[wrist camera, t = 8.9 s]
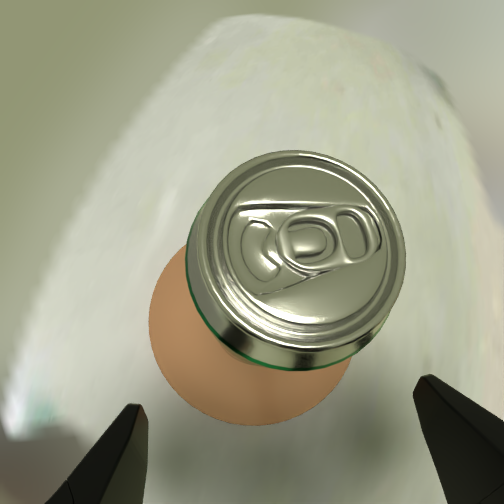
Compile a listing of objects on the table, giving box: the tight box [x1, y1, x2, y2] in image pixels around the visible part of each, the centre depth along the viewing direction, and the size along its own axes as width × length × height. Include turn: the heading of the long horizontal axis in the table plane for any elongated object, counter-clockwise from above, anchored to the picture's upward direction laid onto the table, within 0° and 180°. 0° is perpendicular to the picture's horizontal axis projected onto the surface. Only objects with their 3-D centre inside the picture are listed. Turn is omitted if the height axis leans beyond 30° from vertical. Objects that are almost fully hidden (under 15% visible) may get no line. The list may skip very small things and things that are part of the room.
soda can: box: [185, 150, 406, 371], centre depth 12 cm, size 5×5×12 cm
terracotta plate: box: [149, 245, 352, 426], centre depth 18 cm, size 12×12×2 cm
